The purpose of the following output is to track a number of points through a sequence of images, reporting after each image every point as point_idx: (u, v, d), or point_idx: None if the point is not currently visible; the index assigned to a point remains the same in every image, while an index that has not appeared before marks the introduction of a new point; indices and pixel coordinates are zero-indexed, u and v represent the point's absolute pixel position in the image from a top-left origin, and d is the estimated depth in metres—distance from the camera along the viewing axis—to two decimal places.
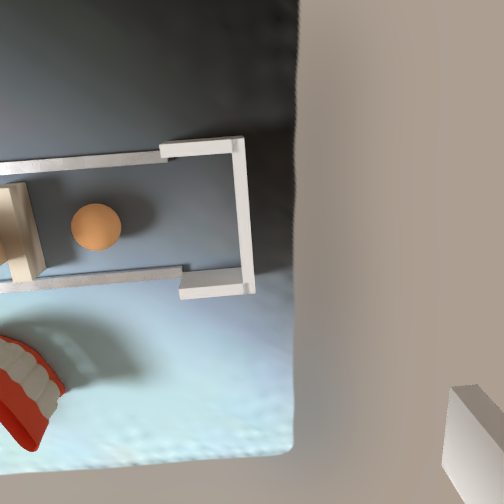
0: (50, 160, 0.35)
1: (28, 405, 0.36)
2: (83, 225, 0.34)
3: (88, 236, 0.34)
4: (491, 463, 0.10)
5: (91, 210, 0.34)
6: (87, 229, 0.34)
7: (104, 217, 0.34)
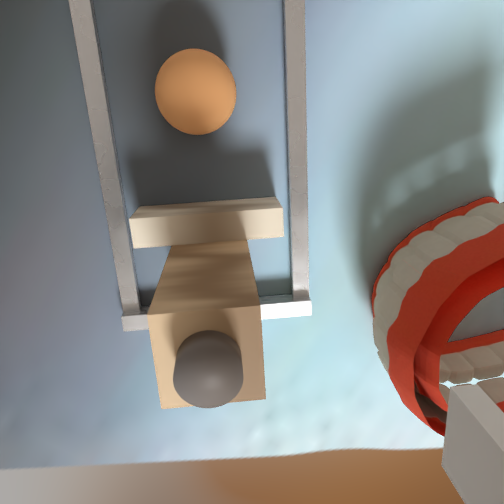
0: (99, 162, 0.23)
1: None
2: (180, 101, 0.19)
3: (199, 94, 0.19)
4: (491, 463, 0.10)
5: (159, 90, 0.20)
6: (186, 94, 0.19)
7: (169, 66, 0.19)
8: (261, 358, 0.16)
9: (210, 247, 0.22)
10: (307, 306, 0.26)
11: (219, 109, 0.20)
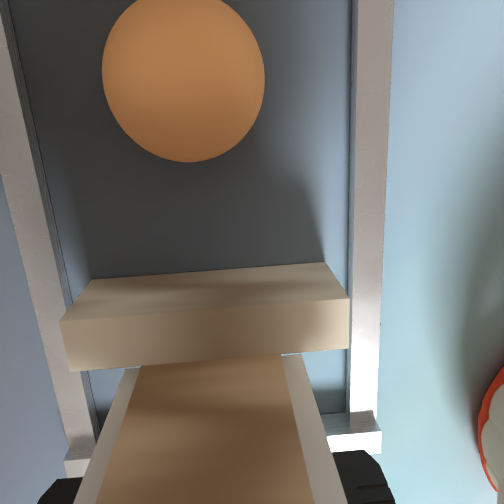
0: (13, 208, 0.13)
1: None
2: (149, 97, 0.09)
3: (189, 80, 0.09)
4: None
5: (106, 73, 0.09)
6: (162, 81, 0.09)
7: (126, 21, 0.09)
8: None
9: (212, 376, 0.11)
10: (374, 440, 0.16)
11: (232, 113, 0.10)
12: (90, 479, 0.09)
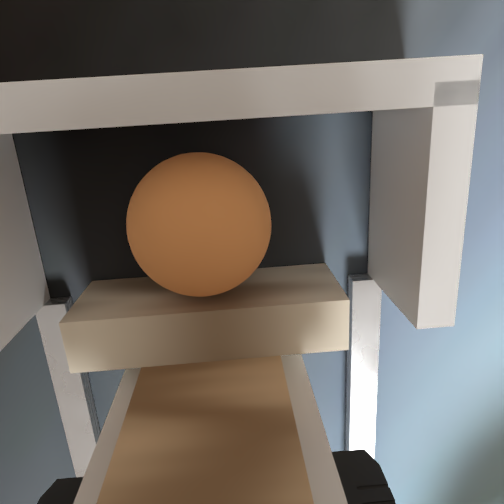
0: None
1: None
2: None
3: None
4: None
5: None
6: None
7: (165, 287, 0.11)
8: None
9: (212, 378, 0.11)
10: None
11: None
12: (90, 479, 0.09)
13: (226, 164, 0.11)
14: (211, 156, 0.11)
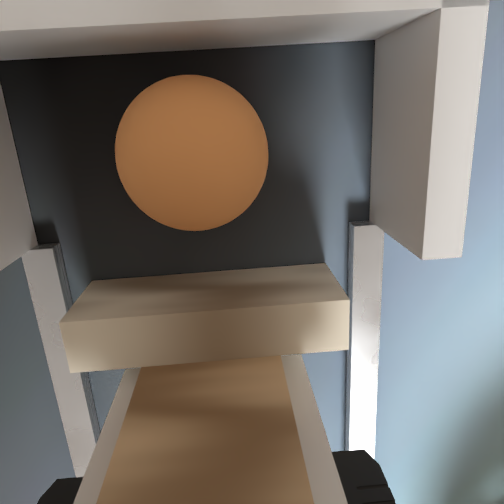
0: None
1: None
2: None
3: None
4: None
5: None
6: None
7: (156, 219, 0.11)
8: None
9: (211, 377, 0.11)
10: None
11: None
12: (90, 479, 0.09)
13: (220, 84, 0.10)
14: (204, 76, 0.10)
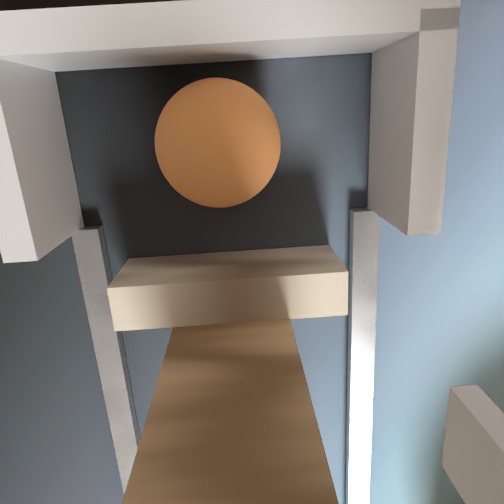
0: (115, 440, 0.19)
1: None
2: None
3: None
4: (491, 463, 0.10)
5: None
6: None
7: (187, 195, 0.13)
8: None
9: (232, 334, 0.14)
10: None
11: None
12: None
13: (242, 84, 0.12)
14: (229, 79, 0.13)
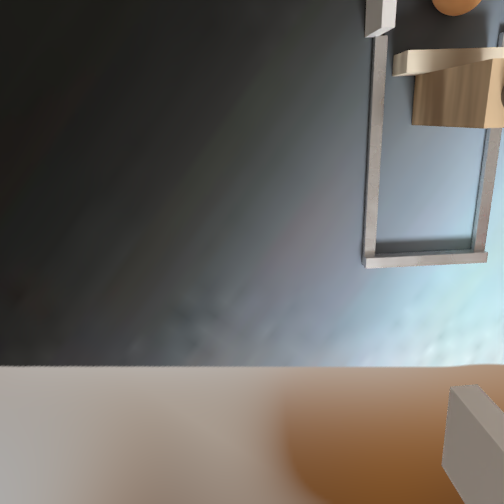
0: (370, 158, 0.37)
1: None
2: (444, 13, 0.33)
3: (457, 15, 0.33)
4: (491, 463, 0.10)
5: (437, 1, 0.32)
6: (450, 15, 0.33)
7: (451, 1, 0.31)
8: None
9: None
10: (485, 256, 0.40)
11: None
12: None
13: None
14: None
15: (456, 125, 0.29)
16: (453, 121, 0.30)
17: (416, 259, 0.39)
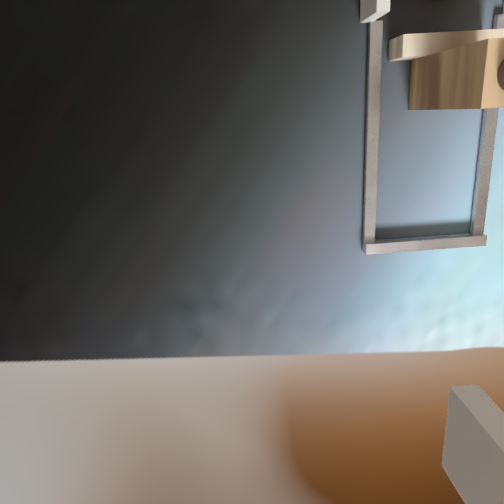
0: (368, 143, 0.37)
1: None
2: None
3: None
4: (491, 463, 0.10)
5: None
6: None
7: None
8: None
9: None
10: (484, 239, 0.40)
11: None
12: None
13: None
14: None
15: (453, 107, 0.30)
16: (450, 103, 0.30)
17: (416, 244, 0.40)
